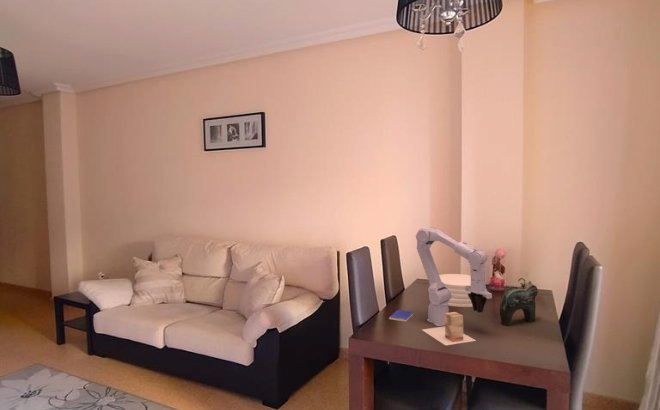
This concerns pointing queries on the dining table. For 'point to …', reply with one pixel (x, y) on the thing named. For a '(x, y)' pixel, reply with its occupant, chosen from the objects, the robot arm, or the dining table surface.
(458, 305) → the plate stack
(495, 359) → the dining table surface
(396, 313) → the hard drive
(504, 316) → the green elephant figurine
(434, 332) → the beige mat
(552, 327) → the dining table surface
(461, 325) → the birch block
